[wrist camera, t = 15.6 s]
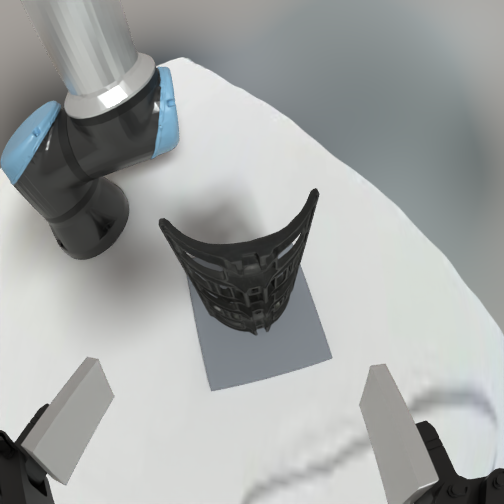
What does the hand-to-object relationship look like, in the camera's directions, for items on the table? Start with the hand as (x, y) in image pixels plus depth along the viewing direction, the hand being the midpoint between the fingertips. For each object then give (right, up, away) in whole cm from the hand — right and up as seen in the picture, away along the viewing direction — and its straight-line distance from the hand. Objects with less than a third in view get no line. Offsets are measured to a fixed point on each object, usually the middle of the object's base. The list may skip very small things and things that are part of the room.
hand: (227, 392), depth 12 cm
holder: (+1, 0, +23) cm, 23 cm away
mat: (+1, -1, +24) cm, 24 cm away
